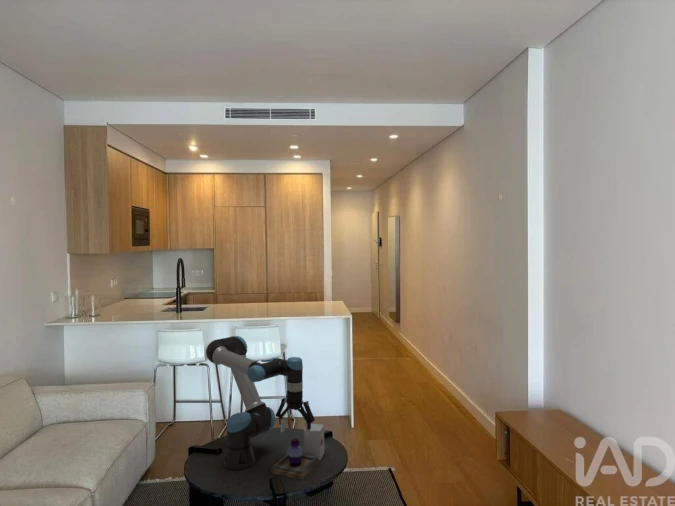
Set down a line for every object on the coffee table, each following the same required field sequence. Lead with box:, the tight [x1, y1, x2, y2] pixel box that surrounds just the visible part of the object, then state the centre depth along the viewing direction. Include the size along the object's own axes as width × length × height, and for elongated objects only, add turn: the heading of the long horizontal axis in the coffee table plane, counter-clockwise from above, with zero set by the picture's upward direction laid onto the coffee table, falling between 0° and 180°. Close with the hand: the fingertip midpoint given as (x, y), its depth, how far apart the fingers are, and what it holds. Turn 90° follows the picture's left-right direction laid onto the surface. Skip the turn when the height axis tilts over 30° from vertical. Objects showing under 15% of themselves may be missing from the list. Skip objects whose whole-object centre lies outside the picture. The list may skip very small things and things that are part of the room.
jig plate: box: [270, 453, 321, 481], centre depth 224 cm, size 17×18×3 cm
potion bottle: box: [286, 437, 304, 467], centre depth 224 cm, size 9×9×12 cm
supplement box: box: [303, 423, 325, 461], centre depth 237 cm, size 9×9×15 cm
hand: (294, 433), depth 224 cm, fingers open, 13 cm apart
